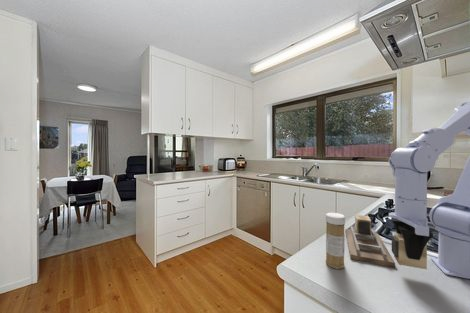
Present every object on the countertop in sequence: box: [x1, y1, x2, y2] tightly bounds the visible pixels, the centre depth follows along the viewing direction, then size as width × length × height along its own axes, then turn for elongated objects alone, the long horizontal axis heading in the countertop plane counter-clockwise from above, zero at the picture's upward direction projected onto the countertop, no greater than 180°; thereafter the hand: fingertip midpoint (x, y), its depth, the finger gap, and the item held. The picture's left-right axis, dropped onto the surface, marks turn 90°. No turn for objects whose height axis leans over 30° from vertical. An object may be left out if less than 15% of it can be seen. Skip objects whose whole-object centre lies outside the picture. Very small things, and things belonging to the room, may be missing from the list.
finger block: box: [391, 232, 428, 271], centre depth 48 cm, size 4×6×6 cm
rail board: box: [344, 214, 396, 268], centre depth 63 cm, size 10×20×7 cm, turn 155°
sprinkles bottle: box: [325, 212, 346, 270], centre depth 53 cm, size 5×5×14 cm
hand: (409, 253), depth 48 cm, fingers closed on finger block, 4 cm apart
